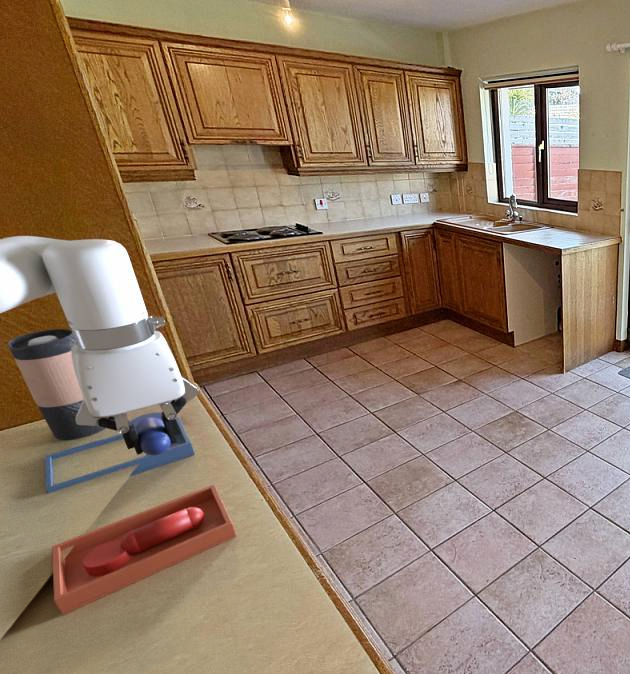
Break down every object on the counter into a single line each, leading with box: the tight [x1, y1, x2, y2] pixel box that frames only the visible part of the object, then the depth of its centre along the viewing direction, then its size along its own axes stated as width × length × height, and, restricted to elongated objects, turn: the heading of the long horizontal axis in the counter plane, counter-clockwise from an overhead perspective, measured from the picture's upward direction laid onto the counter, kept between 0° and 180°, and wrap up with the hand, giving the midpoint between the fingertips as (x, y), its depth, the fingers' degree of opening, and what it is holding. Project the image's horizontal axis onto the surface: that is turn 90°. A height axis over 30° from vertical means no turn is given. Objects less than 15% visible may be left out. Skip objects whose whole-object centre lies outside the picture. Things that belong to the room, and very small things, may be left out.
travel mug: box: [7, 328, 106, 441], centre depth 83 cm, size 8×8×20 cm
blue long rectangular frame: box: [44, 416, 196, 494], centre depth 81 cm, size 11×17×2 cm, turn 137°
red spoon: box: [83, 507, 204, 576], centre depth 65 cm, size 12×4×3 cm, turn 137°
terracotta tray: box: [51, 484, 237, 616], centre depth 65 cm, size 11×17×2 cm, turn 137°
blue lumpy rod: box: [130, 411, 171, 455], centre depth 72 cm, size 12×4×3 cm, turn 47°
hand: (155, 443), depth 71 cm, fingers closed on blue lumpy rod, 3 cm apart
